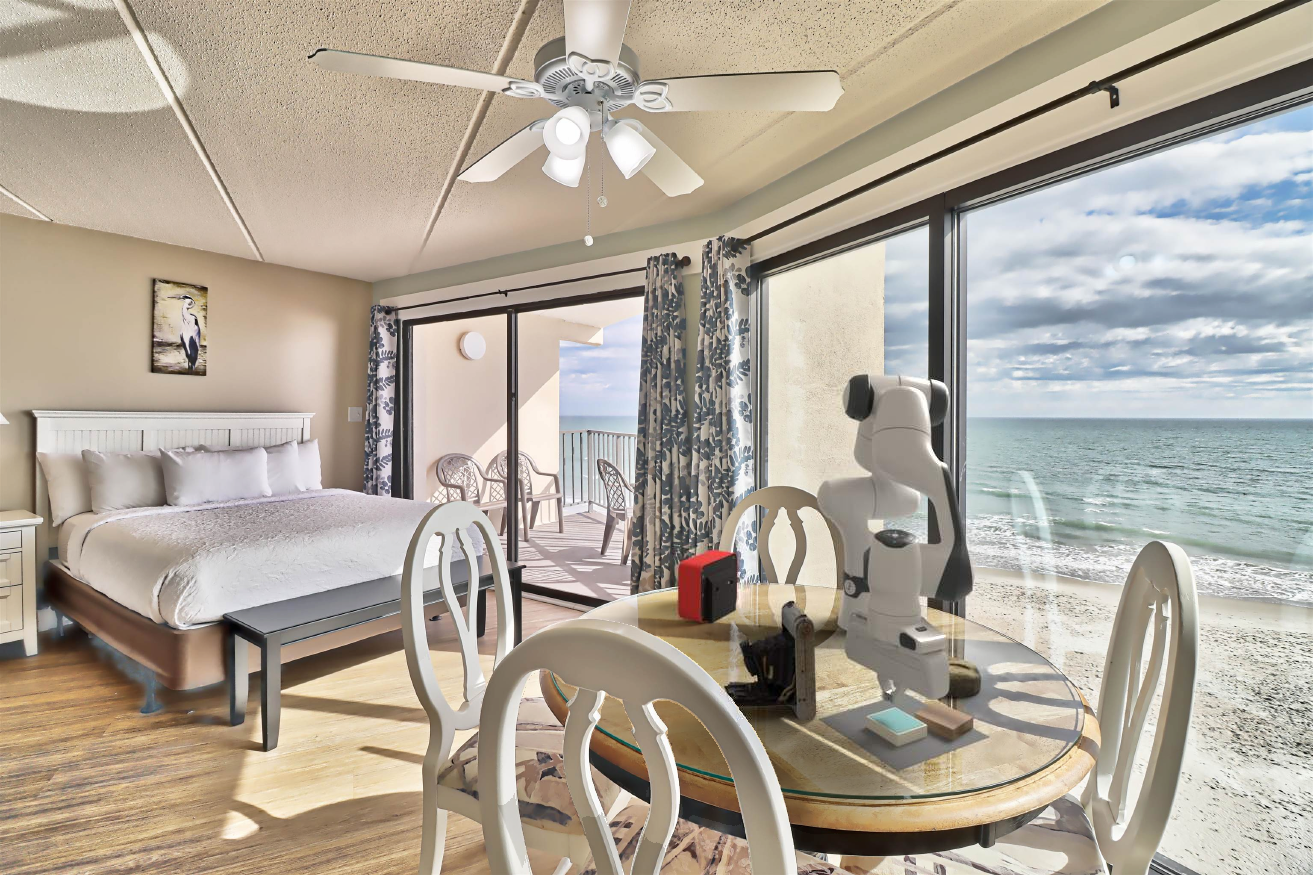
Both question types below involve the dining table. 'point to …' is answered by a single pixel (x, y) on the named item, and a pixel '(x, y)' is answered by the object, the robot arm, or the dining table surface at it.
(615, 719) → the dining table surface
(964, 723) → the walnut block
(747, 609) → the dining table surface
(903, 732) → the box
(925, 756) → the mat
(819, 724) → the dining table surface
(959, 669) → the stone
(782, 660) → the vintage camera
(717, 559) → the alarm clock
